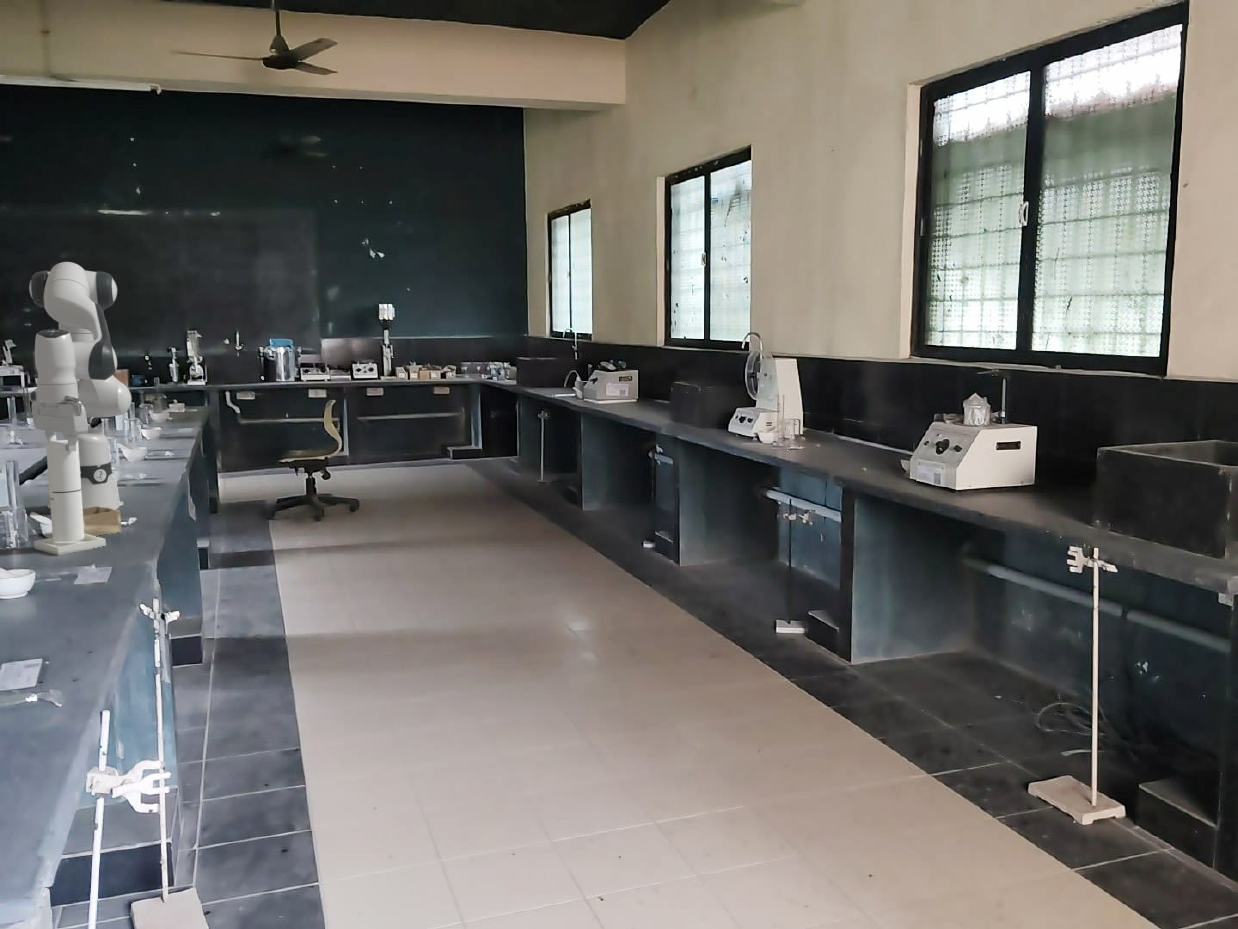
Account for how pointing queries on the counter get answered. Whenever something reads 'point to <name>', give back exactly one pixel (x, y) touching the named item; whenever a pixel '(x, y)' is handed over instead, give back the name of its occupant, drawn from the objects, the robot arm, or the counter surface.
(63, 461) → the cylindrical container
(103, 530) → the holder
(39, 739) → the counter surface
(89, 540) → the tray
